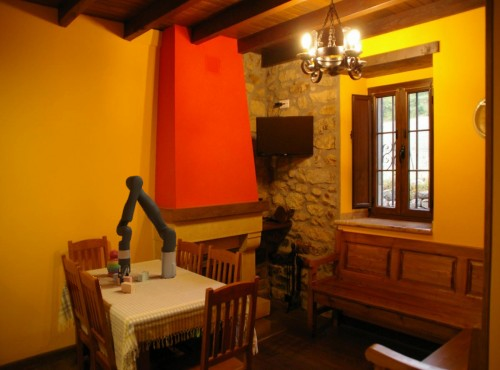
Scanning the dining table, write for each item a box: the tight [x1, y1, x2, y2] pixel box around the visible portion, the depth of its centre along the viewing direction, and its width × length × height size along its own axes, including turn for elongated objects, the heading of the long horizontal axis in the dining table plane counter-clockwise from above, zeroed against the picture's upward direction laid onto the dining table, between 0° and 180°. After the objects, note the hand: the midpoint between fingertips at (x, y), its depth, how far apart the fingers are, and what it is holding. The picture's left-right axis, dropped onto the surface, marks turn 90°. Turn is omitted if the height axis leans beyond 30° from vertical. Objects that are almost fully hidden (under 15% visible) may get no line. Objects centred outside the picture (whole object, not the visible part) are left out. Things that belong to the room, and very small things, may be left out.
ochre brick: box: [120, 282, 137, 294], centre depth 241 cm, size 8×4×5 cm, turn 61°
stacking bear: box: [106, 248, 121, 278], centre depth 278 cm, size 11×10×18 cm
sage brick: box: [137, 270, 150, 283], centre depth 266 cm, size 8×4×5 cm, turn 165°
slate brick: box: [112, 273, 126, 283], centre depth 263 cm, size 8×4×5 cm, turn 84°
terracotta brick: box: [117, 276, 133, 286], centre depth 256 cm, size 8×4×5 cm, turn 84°
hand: (124, 282), depth 256 cm, fingers open, 8 cm apart
